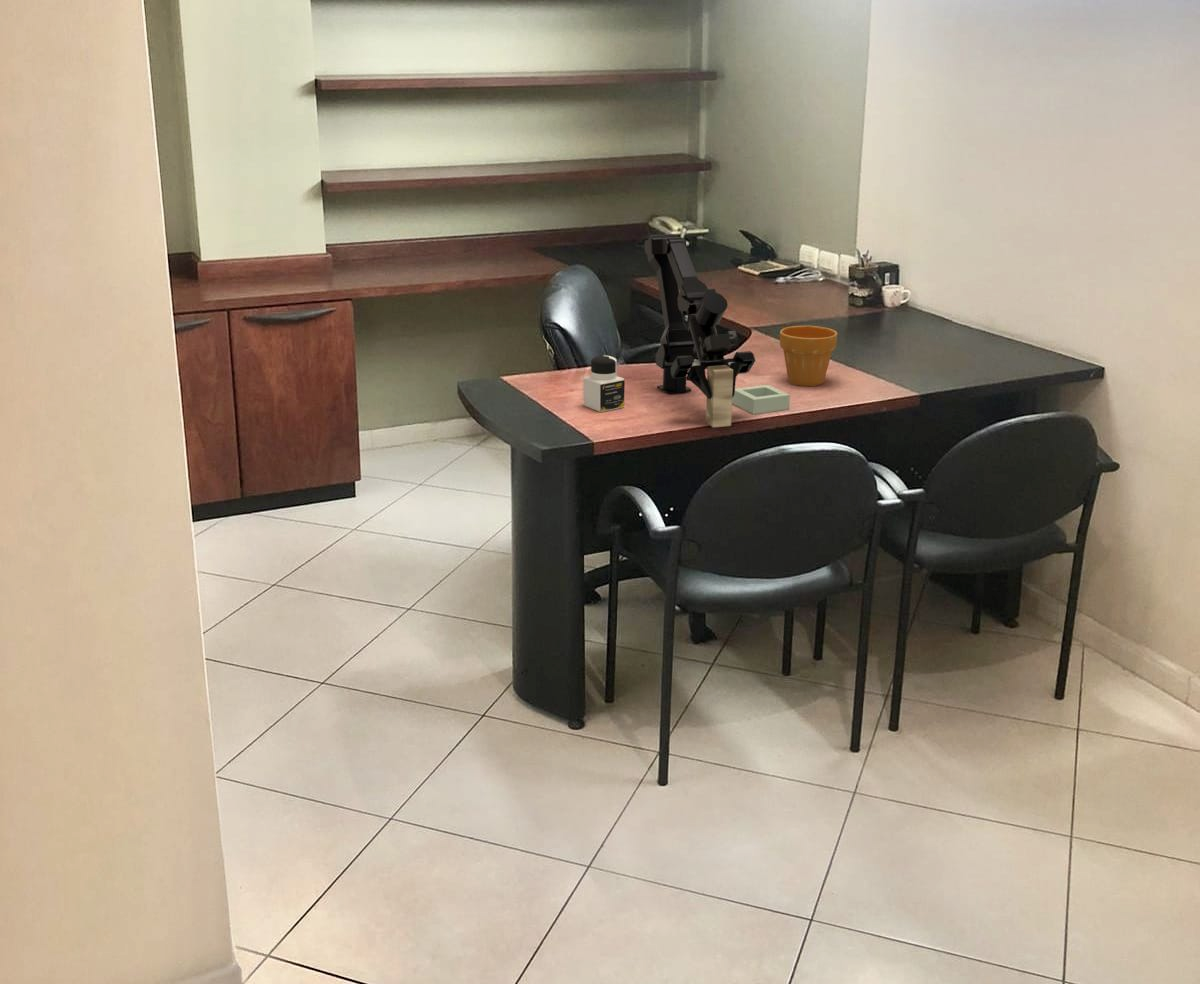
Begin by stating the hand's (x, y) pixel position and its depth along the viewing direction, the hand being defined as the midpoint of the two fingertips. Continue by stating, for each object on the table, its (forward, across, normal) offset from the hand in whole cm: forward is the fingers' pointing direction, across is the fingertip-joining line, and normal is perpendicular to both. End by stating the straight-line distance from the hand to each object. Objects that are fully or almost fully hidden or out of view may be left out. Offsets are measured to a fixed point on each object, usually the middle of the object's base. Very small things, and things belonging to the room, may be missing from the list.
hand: (721, 397), depth 274 cm
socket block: (-4, +15, +13) cm, 20 cm away
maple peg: (+4, 0, +6) cm, 7 cm away
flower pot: (-15, +35, +25) cm, 45 cm away
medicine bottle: (-10, -21, +20) cm, 31 cm away
